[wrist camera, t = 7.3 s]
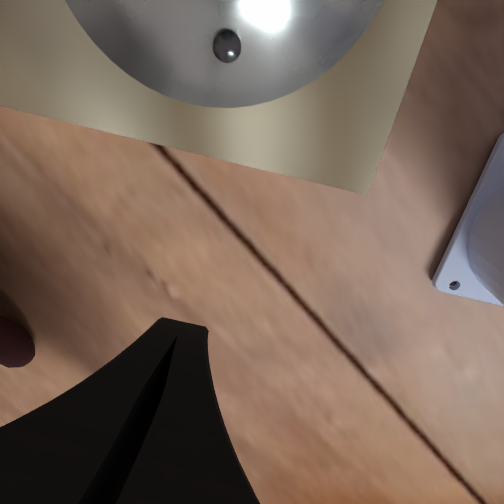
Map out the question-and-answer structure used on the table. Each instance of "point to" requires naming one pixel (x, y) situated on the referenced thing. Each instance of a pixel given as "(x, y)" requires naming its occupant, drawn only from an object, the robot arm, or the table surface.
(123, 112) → the post base
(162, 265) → the table surface
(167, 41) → the grey turntable
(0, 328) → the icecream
